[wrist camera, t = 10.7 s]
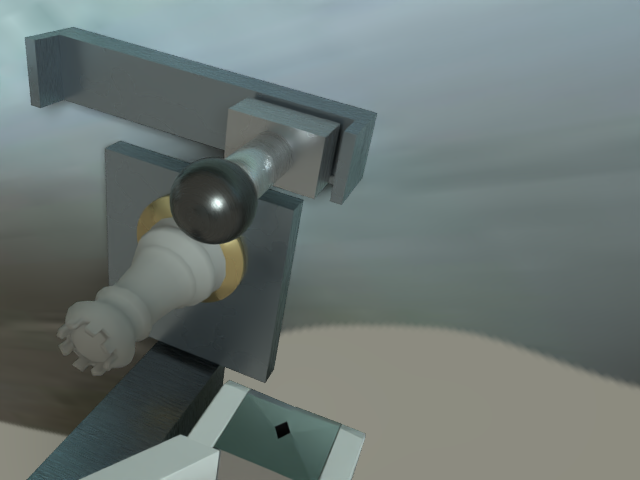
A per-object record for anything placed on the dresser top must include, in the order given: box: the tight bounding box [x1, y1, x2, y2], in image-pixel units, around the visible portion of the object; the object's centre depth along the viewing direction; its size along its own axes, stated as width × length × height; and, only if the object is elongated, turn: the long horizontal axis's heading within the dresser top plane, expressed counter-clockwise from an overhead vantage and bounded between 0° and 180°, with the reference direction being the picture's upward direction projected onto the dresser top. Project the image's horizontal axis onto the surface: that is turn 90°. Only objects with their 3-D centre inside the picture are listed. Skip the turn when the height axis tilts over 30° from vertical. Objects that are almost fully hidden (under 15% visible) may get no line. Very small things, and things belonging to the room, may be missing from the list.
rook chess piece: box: [57, 217, 226, 376], centre depth 26 cm, size 4×4×8 cm
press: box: [25, 27, 377, 480], centre depth 24 cm, size 15×20×18 cm
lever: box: [169, 97, 340, 245], centre depth 21 cm, size 4×3×8 cm
